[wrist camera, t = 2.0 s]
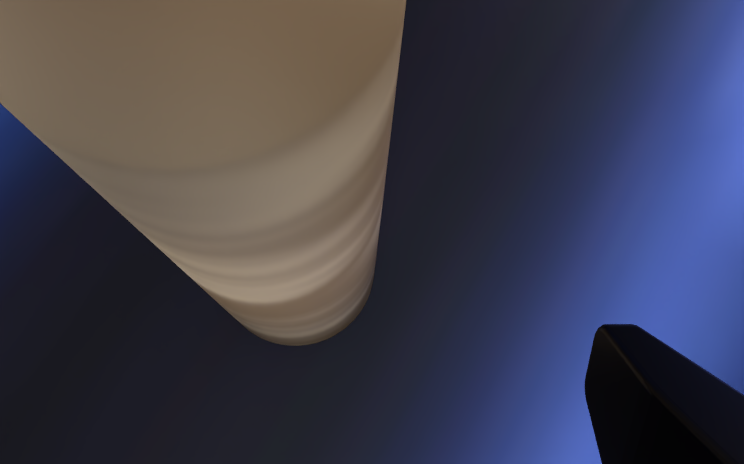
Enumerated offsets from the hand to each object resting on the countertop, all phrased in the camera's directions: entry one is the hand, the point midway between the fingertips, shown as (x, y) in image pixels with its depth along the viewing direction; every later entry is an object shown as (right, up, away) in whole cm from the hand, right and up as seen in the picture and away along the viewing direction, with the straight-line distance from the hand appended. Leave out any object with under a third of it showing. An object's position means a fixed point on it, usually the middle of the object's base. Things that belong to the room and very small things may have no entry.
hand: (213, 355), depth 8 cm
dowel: (0, 0, +11) cm, 11 cm away
